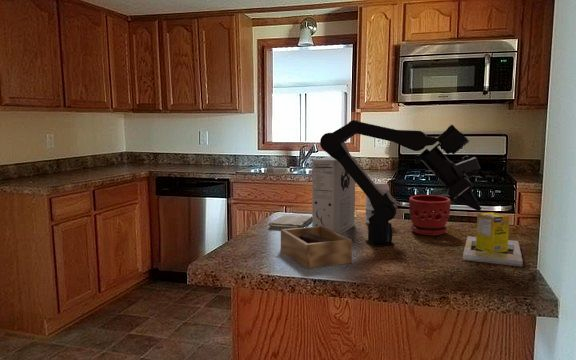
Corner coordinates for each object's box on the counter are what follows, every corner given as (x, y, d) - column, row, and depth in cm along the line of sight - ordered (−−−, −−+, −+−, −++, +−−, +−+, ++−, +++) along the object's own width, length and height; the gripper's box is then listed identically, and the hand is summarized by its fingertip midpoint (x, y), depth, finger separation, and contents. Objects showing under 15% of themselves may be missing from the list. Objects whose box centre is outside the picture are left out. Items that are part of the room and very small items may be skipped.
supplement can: (372, 220, 169) (372, 181, 168) (392, 223, 164) (393, 182, 162) (361, 223, 163) (362, 183, 161) (381, 226, 158) (382, 184, 156)
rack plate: (522, 266, 112) (522, 260, 112) (462, 259, 118) (463, 254, 118) (517, 245, 132) (518, 240, 132) (467, 240, 138) (467, 235, 138)
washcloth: (266, 230, 154) (266, 221, 154) (283, 220, 171) (283, 212, 171) (299, 233, 151) (300, 224, 150) (313, 222, 168) (313, 214, 167)
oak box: (305, 268, 111) (306, 244, 110) (280, 250, 128) (280, 229, 127) (351, 262, 116) (352, 240, 115) (321, 245, 132) (321, 226, 132)
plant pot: (401, 229, 154) (402, 195, 153) (436, 227, 157) (437, 194, 155) (419, 238, 141) (420, 201, 140) (457, 236, 144) (458, 199, 143)
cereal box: (334, 223, 163) (335, 155, 160) (354, 225, 160) (355, 156, 157) (311, 236, 144) (312, 159, 141) (333, 239, 141) (334, 160, 138)
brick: (298, 251, 127) (299, 235, 127) (308, 248, 130) (309, 233, 129) (325, 259, 120) (326, 242, 119) (335, 256, 122) (336, 240, 122)
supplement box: (507, 254, 124) (510, 215, 122) (491, 256, 122) (493, 217, 120) (491, 248, 129) (493, 211, 128) (475, 250, 127) (476, 213, 126)
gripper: (465, 148, 116) (507, 193, 114) (461, 145, 133) (498, 184, 131) (431, 176, 119) (472, 220, 117) (432, 169, 137) (467, 208, 135)
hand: (478, 207), depth 125 cm, fingers open, 9 cm apart
